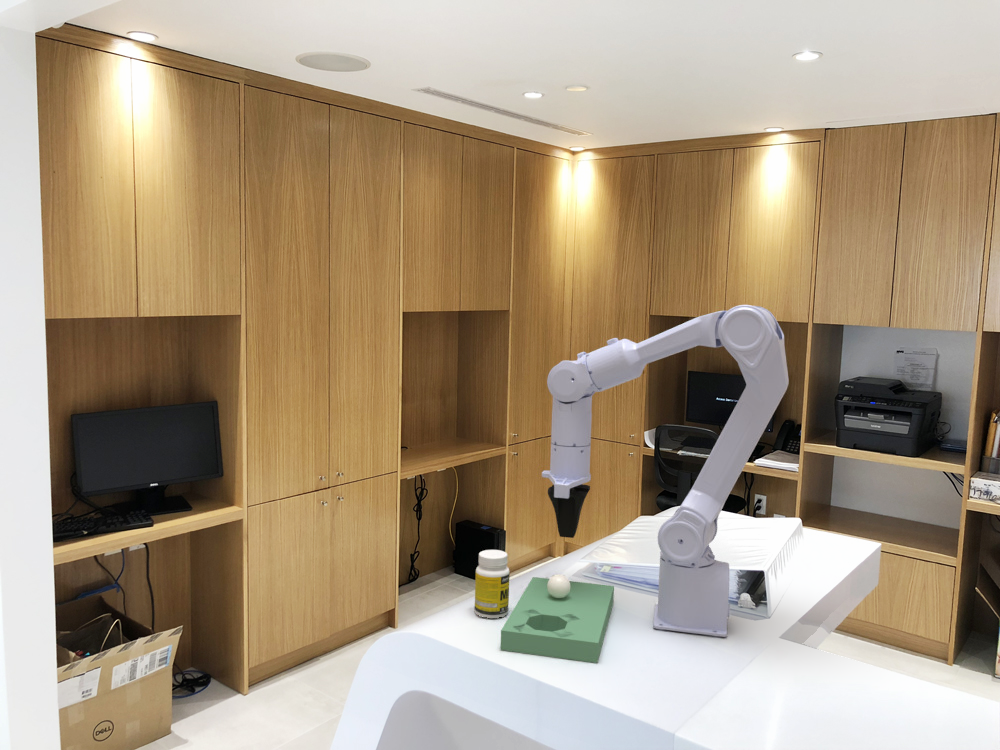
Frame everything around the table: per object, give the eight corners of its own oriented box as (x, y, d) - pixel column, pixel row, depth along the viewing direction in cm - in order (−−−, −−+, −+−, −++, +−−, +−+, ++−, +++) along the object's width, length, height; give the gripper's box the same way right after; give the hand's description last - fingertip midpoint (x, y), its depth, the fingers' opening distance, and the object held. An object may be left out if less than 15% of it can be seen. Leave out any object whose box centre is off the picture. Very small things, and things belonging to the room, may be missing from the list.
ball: (571, 594, 107) (572, 572, 107) (568, 603, 104) (568, 580, 104) (549, 592, 108) (549, 570, 108) (544, 600, 105) (545, 577, 105)
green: (613, 602, 111) (614, 586, 111) (597, 663, 92) (598, 643, 92) (532, 593, 114) (533, 576, 114) (500, 649, 95) (501, 630, 95)
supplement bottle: (504, 621, 104) (506, 560, 103) (470, 617, 105) (472, 557, 104) (511, 608, 108) (513, 550, 108) (478, 604, 109) (480, 547, 109)
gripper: (552, 434, 119) (549, 520, 120) (533, 450, 105) (530, 547, 106) (597, 437, 117) (594, 524, 118) (585, 453, 103) (581, 552, 104)
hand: (567, 535), depth 112 cm, fingers closed
